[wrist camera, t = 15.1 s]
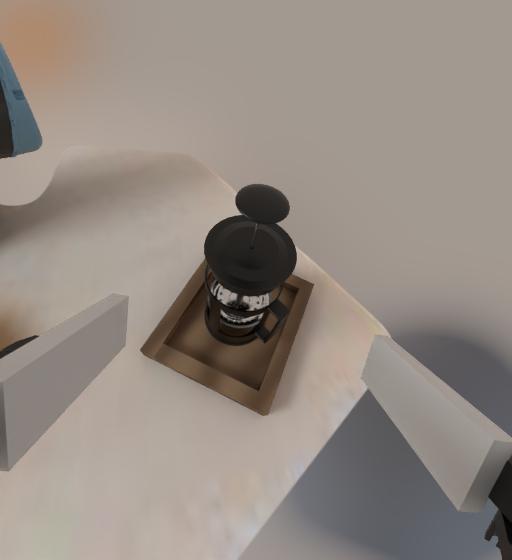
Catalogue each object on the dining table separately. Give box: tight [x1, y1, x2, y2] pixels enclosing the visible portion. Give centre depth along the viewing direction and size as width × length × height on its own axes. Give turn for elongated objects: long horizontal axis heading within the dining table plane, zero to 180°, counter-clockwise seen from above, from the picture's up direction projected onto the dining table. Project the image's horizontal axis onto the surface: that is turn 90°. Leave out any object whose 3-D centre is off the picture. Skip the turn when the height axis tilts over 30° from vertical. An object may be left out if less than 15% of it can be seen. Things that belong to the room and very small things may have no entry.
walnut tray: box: [140, 258, 314, 416], centre depth 38 cm, size 18×21×2 cm
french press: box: [204, 184, 297, 346], centre depth 28 cm, size 12×9×23 cm
